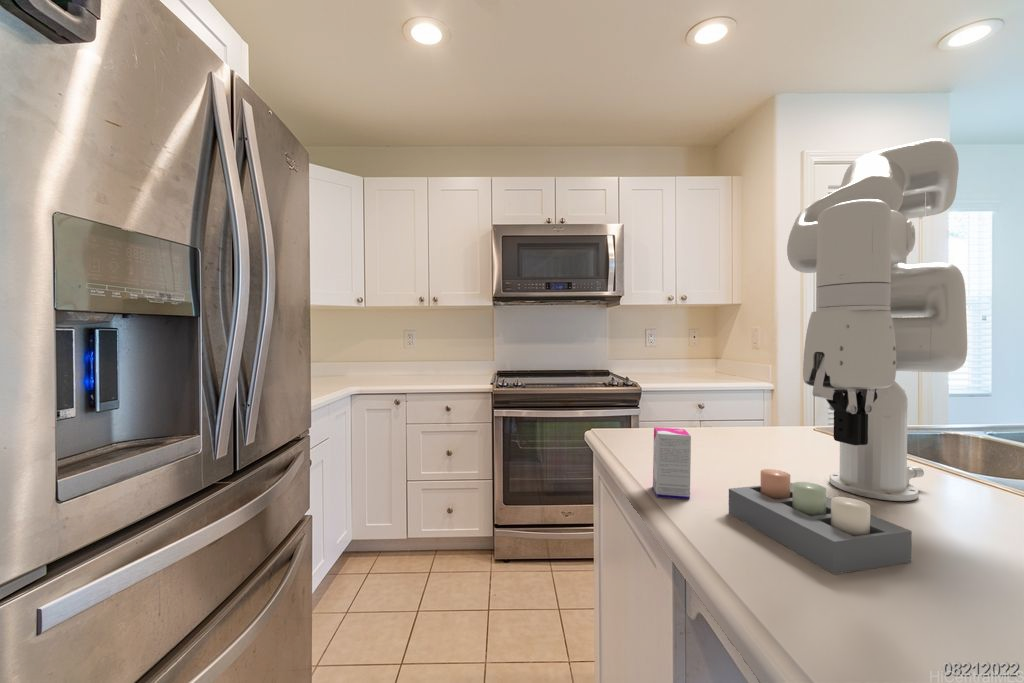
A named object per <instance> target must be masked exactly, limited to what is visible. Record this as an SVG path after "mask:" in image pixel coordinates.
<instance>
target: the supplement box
mask: <svg viewBox="0 0 1024 683" xmlns="http://www.w3.org/2000/svg"><path fill="white" fill-rule="evenodd" d="M691 438H692V436H691V434H690V433H689V432H688V431H687V430H686V429H684V428H672V427H671V428H670V427H669V428H668V427H654V428H653V456H652V457H653V459H652V460H653V463H652V464H653V465H652V489H653V492H654V495H655V496H656V498H660V499H672V500H673V499H674V500H691V499H690V498H691V459H692V458H691V457H692V456H691V454H692V451H691V450H692V449H691V448H692V446H691V445H692V444H691V443H692V439H691Z"/></svg>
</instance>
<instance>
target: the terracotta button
mask: <svg viewBox="0 0 1024 683" xmlns="http://www.w3.org/2000/svg"><path fill="white" fill-rule="evenodd" d="M790 483H791V474H790V473H789V472H786V471H783V470H779V469H778V470H777V469H772V468H771V469H767V468H765V469H761V470H760V486H761V493H762V494H764V495H766V496H768V497H770V498H772V499H774V500H776V499H785V498H790Z"/></svg>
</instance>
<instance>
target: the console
mask: <svg viewBox="0 0 1024 683" xmlns="http://www.w3.org/2000/svg"><path fill="white" fill-rule="evenodd" d="M793 483H794V482H790V498H785V499H776V500H774V499H772V498H770V497H768V496H766V495H764V494H762V493H761V485H754V486H753V485H752V486H743V487H732V488H728V514H730V515H731V516H733V517H735V518H736V519H738V520H739V521H741V522H744V523H745V524H747V525H749V526H750V527H752V528H754V529H755V530H757V531H759V532H760V533H762V534H764V535H765V536H768V537H769V538H771V539H773V540H774V541H776V542H777V541H778V543H779V544H781V545H783V546H784V545H785V547H786V546H787V548H788V549H789V550H792V551H793V552H794V553H797V554H799V555H800V556H801V557H804V558H805V559H807V560H808V561H810V562H812V563H814V564H816V565H817V566H818V567H820V568H822V569H824V570H826V571H827V572H829V573H831V574H832V575H839V574H845V573H851V572H852V573H853V572H858V571H865V570H870V569H875V568H885V567H890V566H895V565H903V564H909V563H912V533H913V531H912V530H910V529H908V528H905V527H903V526H900V525H898V524H895V523H893V522H890V521H887V520H885V519H883V518H880V517H877V516H876V515H872V514H870V534H869V535H861V536H851V535H849V534H847V533H845V532H843V531H841V530H839V529H836V528H834V527H832V526H831V498H830V497H828V496H826V514H825V515H816V516H809V515H806V514H804V513H802V512H800V511H798V510H796V509H794V508H792V496H793Z"/></svg>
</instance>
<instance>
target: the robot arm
mask: <svg viewBox="0 0 1024 683" xmlns="http://www.w3.org/2000/svg"><path fill="white" fill-rule="evenodd" d="M959 169H960V168H959V156H958V153H957V150H956V149H955V147H954V146H953V144H952V143H951V142H950V141H948V140H946V139H944V138H938V137H937V138H929V139H925V140H919V141H916V142H911V143H907V144H903V145H898V146H894V147H890V148H885V149H881V150H876V151H872V152H870V153H867V154H864V155H862V156H861V157H858V158H857V159H855V160H854V161H853V162H852V163H851V164H850V165H849V166H848V167H847V169H846V171H845V173H844V175H843V178H842V181H841V183H840V187H839V189H837V190H834V191H833V192H831V193H829V194H827V195H826V196H824V197H822V198H820V199H818V200H816V201H814V202H813V203H810V204H809V205H808V206H806V207H805V208H804V209H802V210H801V211H800V213H798V215H797V217H796V219H795V221H794V222H793V225H792V227H791V230H790V233H789V235H788V239H787V243H786V244H787V245H786V255H787V259H788V262H789V265H790V266H791V267H792V268H793V269H794V270H795V271H797V272H799V273H803V274H804V273H805V274H812V273H816V276H815V279H816V281H815V282H816V283H815V288H816V289H815V311H811V314H810V317H809V319H808V324H807V328H806V334H805V340H804V347H803V348H804V350H803V360H802V361H803V363H802V366H803V367H802V379H803V382H804V383H805V384H806V385H808V386H809V387H810V386H811V387H813V388H812V396H814V397H816V398H819V399H824V400H826V402H827V403H828V405H829V409H830V410H831V411H833V439H834V441H836V442H838V443H839V471H837V472H833V473H831V474H829V483H830V484H831V485H832V486H834V487H835V488H837V489H839V490H841V491H844V492H847V493H851V494H854V495H857V496H860V497H866V498H870V499H875V500H883V501H891V502H909V501H915V500H917V499H918V498H920V495H919V493H920V492H919V489H918V488H917V487H915V486H914V485H912V484H910V481H911V479H912V478H913V479H915V478H922V477H923V476H924V475H925V472H924V469H922V467H920V466H910V465H909V466H908V462H907V461H908V406H909V404H908V403H909V402H908V396H907V394H906V391H905V390H904V388H903V387H902V386H901V385H900V384H899V383H898V382H896V375H897V372H912V373H913V372H915V373H916V372H917V373H952V372H955V371H957V370H959V369H961V368H962V367H963V366H964V364H965V363H966V361H967V360H966V359H967V357H968V323H967V300H966V299H967V297H966V296H967V293H966V286H965V285H966V283H965V279H964V275H963V273H962V271H961V270H960V269H959V268H958V267H957V266H956V265H954V264H951V263H947V262H927V263H916V264H914V263H913V264H907V262H908V261H907V257H908V256H909V254H910V253H911V252H912V251H913V250H914V247H915V243H916V229H915V225H914V223H913V222H912V221H911V220H910V219H917V218H923V217H929V216H934V215H935V216H936V215H939V214H942V213H945V212H946V211H947V210H949V209H950V208H951V206H952V205H953V204H954V201H955V199H956V194H957V188H958V177H959Z"/></svg>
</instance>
